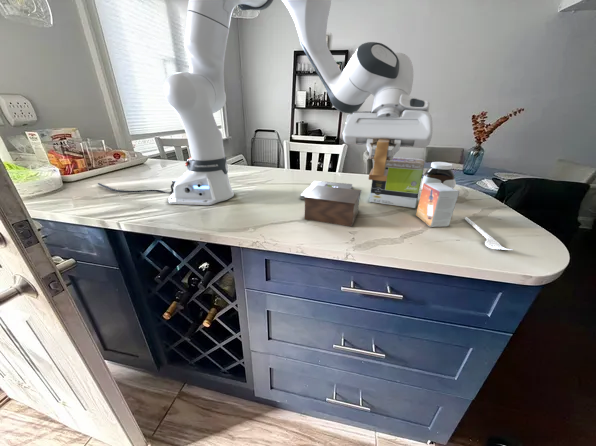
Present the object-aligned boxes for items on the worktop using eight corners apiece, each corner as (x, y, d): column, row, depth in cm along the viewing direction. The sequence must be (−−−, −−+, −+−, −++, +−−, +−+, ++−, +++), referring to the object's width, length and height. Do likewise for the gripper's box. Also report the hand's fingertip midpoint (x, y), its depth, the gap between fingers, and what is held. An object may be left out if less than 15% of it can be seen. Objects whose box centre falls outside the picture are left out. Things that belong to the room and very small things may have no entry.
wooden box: (303, 219, 72) (303, 197, 69) (316, 205, 83) (316, 185, 80) (352, 227, 68) (354, 203, 65) (358, 211, 78) (361, 190, 75)
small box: (415, 215, 75) (422, 182, 70) (432, 215, 75) (441, 182, 71) (430, 227, 67) (439, 191, 63) (449, 226, 68) (460, 190, 63)
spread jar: (420, 195, 92) (427, 164, 87) (419, 187, 101) (425, 158, 96) (456, 199, 88) (466, 167, 83) (451, 190, 97) (460, 161, 92)
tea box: (416, 199, 87) (425, 158, 81) (415, 209, 79) (425, 163, 73) (373, 194, 93) (378, 154, 87) (368, 202, 85) (374, 159, 79)
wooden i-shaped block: (368, 179, 57) (373, 141, 54) (371, 172, 63) (376, 138, 60) (386, 181, 56) (392, 142, 52) (387, 174, 62) (393, 138, 58)
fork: (470, 219, 72) (472, 214, 71) (512, 257, 54) (515, 249, 53) (458, 219, 73) (460, 213, 72) (496, 255, 55) (499, 248, 54)
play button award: (300, 195, 87) (314, 180, 104) (300, 199, 88) (314, 184, 105) (345, 200, 83) (352, 184, 100) (345, 204, 83) (352, 187, 101)
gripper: (347, 102, 62) (335, 147, 58) (437, 101, 55) (431, 152, 51) (348, 120, 67) (338, 162, 63) (430, 121, 61) (424, 169, 57)
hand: (380, 158), depth 57 cm, fingers closed on wooden i-shaped block, 3 cm apart
